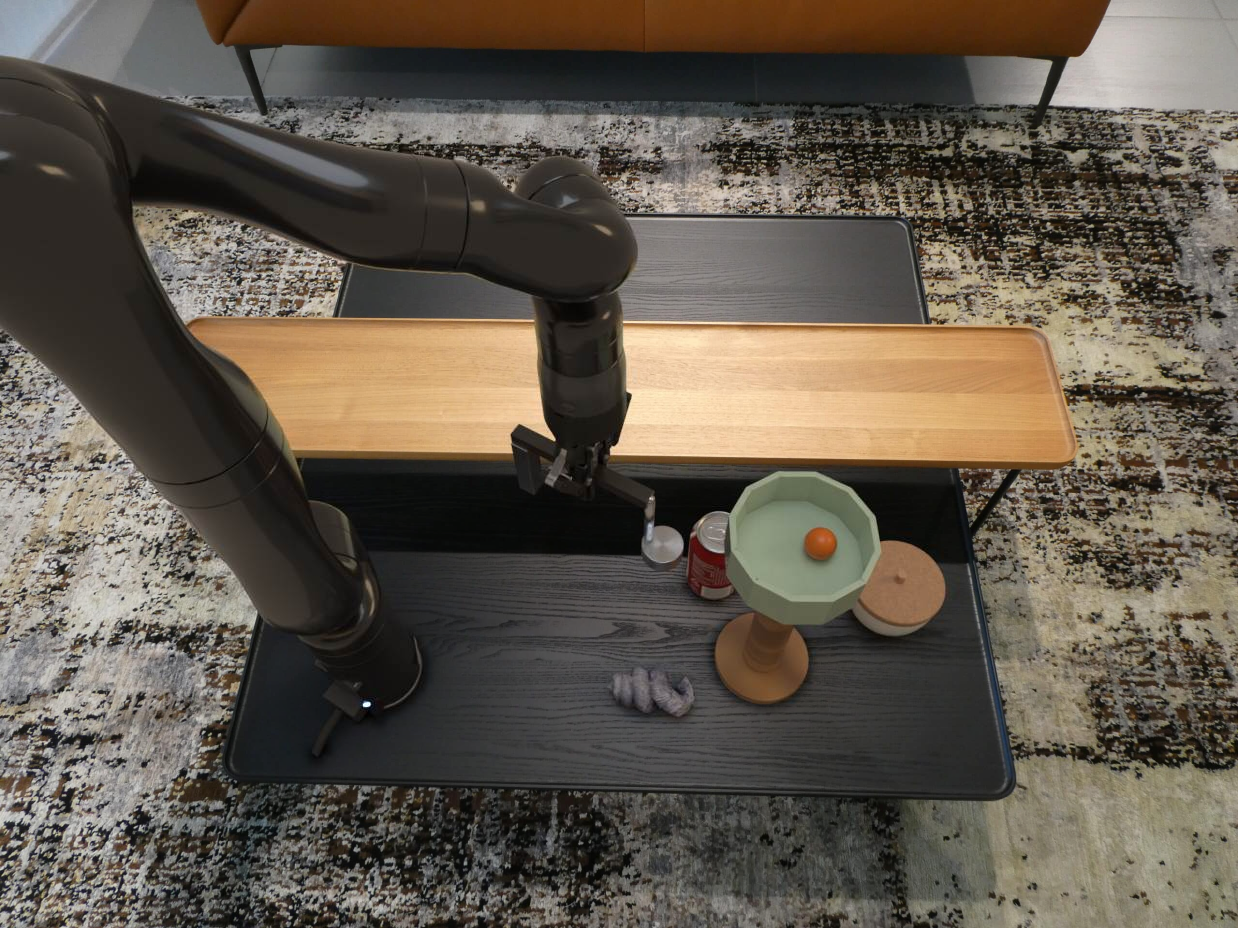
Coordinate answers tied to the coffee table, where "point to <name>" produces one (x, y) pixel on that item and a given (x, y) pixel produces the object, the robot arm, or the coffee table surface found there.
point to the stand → (761, 658)
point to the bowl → (799, 547)
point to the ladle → (658, 542)
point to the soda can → (709, 557)
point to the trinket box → (900, 591)
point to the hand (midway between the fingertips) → (590, 487)
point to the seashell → (652, 691)
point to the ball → (820, 543)
